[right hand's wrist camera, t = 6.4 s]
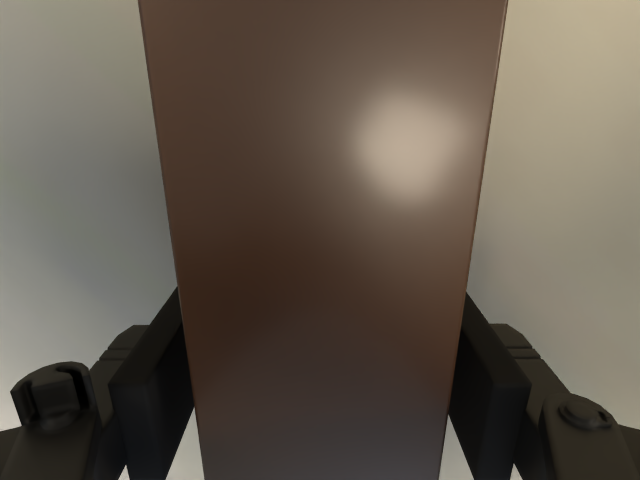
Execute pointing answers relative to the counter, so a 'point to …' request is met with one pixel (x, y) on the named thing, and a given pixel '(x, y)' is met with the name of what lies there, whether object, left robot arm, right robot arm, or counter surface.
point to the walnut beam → (322, 221)
